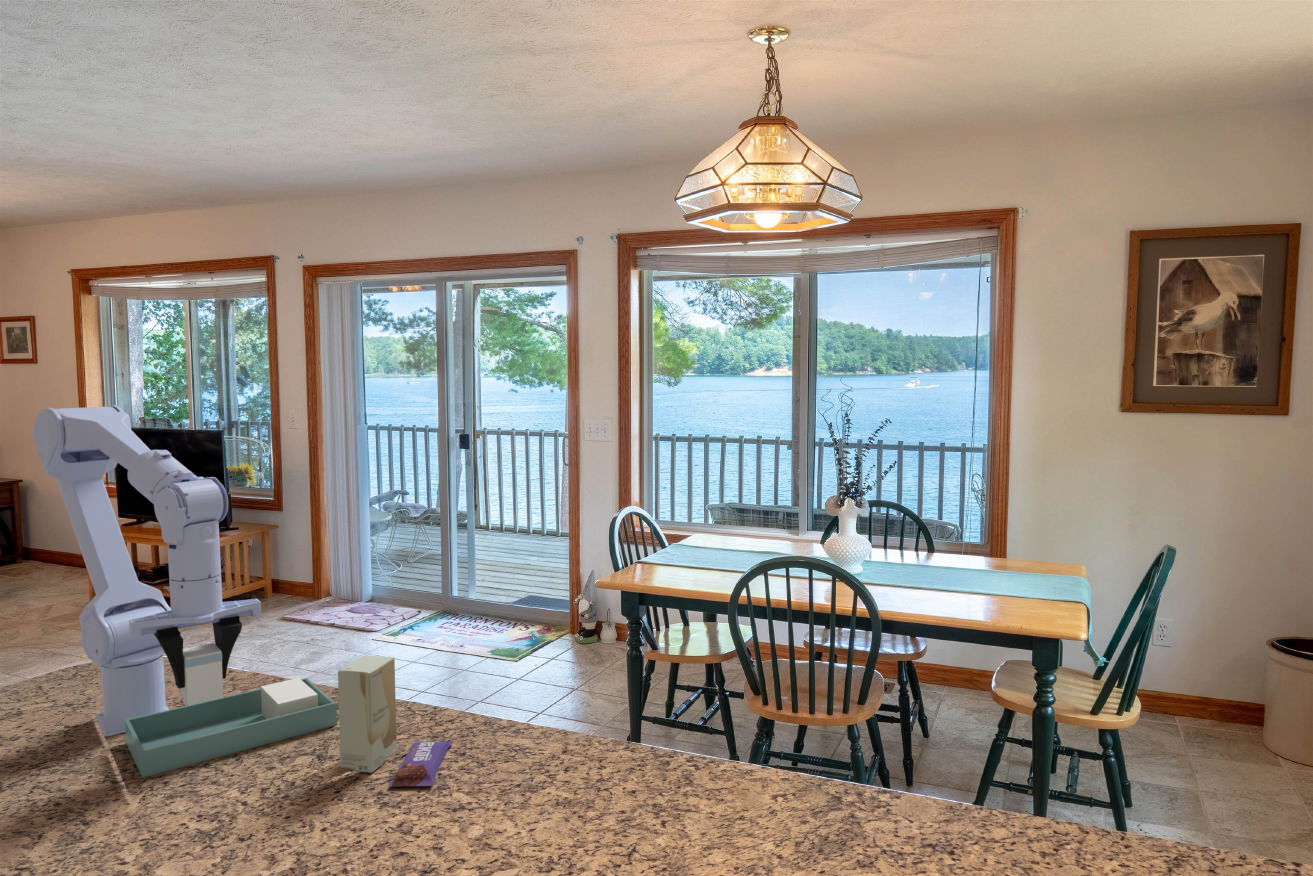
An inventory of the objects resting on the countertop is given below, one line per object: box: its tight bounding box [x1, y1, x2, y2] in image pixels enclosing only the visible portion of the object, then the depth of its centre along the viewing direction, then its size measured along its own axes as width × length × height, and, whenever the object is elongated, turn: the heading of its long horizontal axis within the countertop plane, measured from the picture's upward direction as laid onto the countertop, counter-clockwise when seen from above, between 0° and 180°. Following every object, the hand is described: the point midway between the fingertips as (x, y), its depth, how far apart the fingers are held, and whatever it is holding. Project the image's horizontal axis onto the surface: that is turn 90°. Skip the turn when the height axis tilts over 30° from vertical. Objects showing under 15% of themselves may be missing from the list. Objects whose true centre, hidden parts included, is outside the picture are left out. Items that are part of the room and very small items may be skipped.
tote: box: [125, 677, 338, 779], centre depth 110 cm, size 12×22×4 cm, turn 130°
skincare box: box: [337, 655, 398, 773], centre depth 103 cm, size 6×4×12 cm
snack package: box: [388, 741, 454, 788], centre depth 102 cm, size 12×2×5 cm
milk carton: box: [180, 642, 224, 706], centre depth 107 cm, size 4×4×6 cm
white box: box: [260, 677, 318, 719], centre depth 114 cm, size 8×5×4 cm, turn 40°
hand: (200, 681), depth 107 cm, fingers closed on milk carton, 4 cm apart
